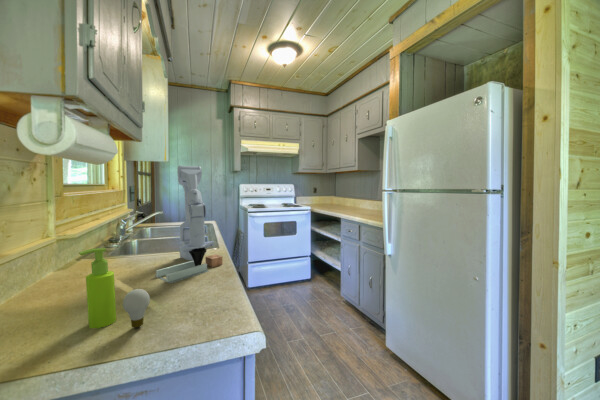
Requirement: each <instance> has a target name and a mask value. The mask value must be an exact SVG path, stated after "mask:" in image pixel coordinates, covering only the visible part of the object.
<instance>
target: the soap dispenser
mask: <svg viewBox="0 0 600 400" xmlns="http://www.w3.org/2000/svg"><path fill="white" fill-rule="evenodd" d="M104 252H107V248H105V247H96V248H90V249H84V250H82V251H80V252H78V254H79V255H80V256H86V255H88V254H92V253H94V260H93V261H91V266H90V267H91V273H89V274H88V275H86V276H85V285H86V286H85V287H86V303H87V320H88V328H89V329H92V328H97V329H102V328H101V327H103V328H106V327H108V325H109V326H110V324H111V325H113V324H114V323H116V321H117V309H116V308H117V306H116V289H115V285H116V284H115V272H114V271H112V270H109V265H108V263H109V262H108V260H107V259H105V258H104ZM105 326H106V327H105Z"/></svg>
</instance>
